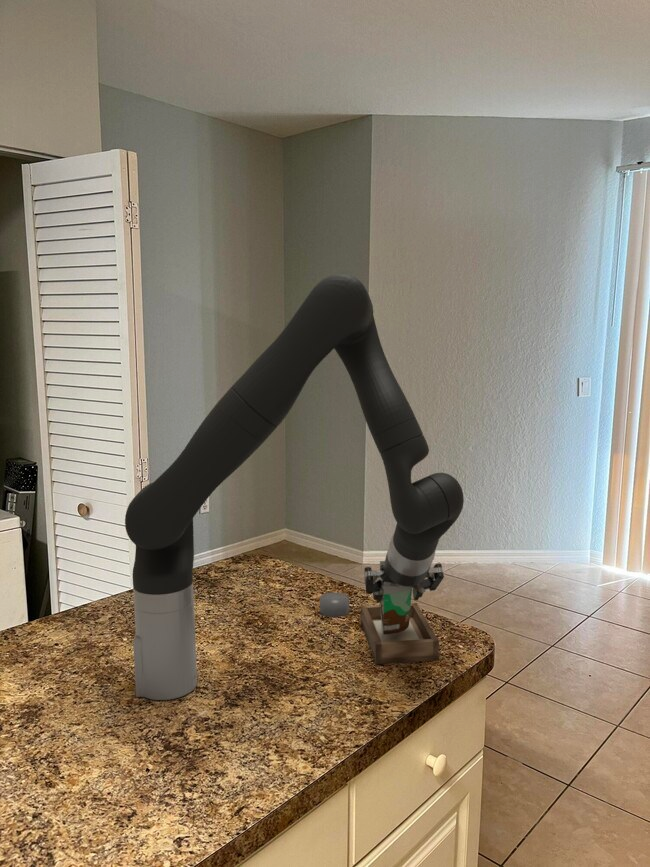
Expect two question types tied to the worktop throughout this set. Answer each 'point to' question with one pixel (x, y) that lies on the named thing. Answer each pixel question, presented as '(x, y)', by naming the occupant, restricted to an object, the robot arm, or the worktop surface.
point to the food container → (395, 607)
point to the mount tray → (400, 638)
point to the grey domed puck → (334, 604)
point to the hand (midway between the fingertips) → (396, 596)
